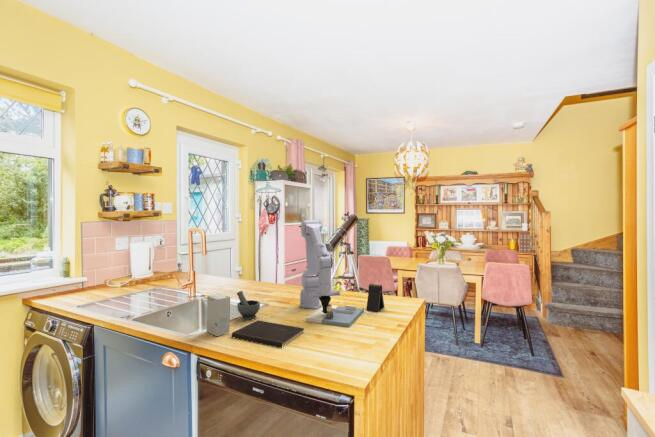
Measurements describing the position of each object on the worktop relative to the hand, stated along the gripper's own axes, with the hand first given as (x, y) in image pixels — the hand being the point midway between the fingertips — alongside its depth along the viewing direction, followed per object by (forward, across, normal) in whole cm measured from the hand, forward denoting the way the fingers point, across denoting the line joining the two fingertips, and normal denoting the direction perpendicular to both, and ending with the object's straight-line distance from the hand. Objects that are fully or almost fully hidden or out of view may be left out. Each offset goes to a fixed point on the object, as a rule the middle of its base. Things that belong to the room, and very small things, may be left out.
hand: (324, 312), depth 143 cm
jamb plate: (+2, +1, +5) cm, 5 cm away
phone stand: (+3, +28, +3) cm, 28 cm away
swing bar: (0, +2, 0) cm, 2 cm away
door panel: (+2, +8, -2) cm, 9 cm away
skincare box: (+3, -46, +1) cm, 46 cm away
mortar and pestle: (+3, -32, +14) cm, 35 cm away
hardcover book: (+3, -28, -10) cm, 29 cm away
